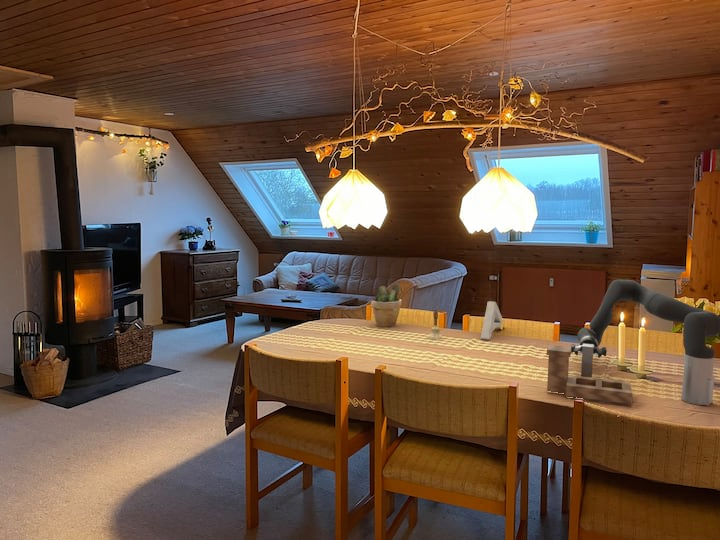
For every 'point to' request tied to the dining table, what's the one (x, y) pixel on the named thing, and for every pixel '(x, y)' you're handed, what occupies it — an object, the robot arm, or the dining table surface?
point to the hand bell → (435, 328)
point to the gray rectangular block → (587, 360)
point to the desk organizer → (583, 381)
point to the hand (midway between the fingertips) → (588, 354)
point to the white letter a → (491, 320)
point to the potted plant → (386, 306)
